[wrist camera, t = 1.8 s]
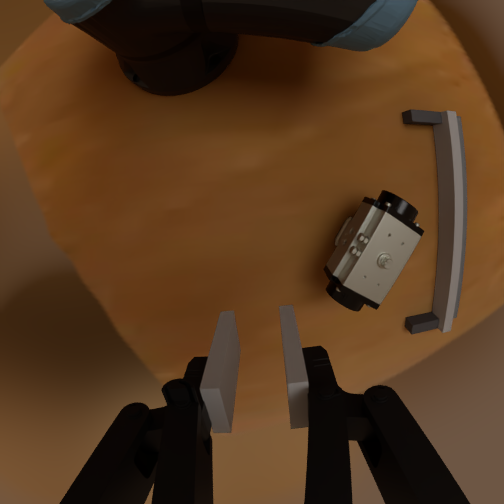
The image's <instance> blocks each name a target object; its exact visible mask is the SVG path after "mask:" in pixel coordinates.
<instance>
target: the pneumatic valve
mask: <svg viewBox="0 0 504 504" xmlns="http://www.w3.org/2000/svg"><path fill="white" fill-rule="evenodd" d="M417 214H418V211H417V210H416V209H415V208H414V207H413V206H412V205H411V204H409V203H408V202H406V201H405V200H403V199H402V198H400V197H398V196H396V195H395V194H393V193H391V192H388V191H385V190H382V192H381V194H380V196H379V197H378V199H377V201H376V199H374V198H368V197H364V199H363V201H362V203H361V205H360V207H359V208H358V210H357V212H356V214H355V216H354V217H353V218H352V217H349V218H347V219H346V220H345V222H344V224H343V226H342V227H341V229H340V231H339V233H338V235H337V236H336V238H335V245H336V246H337V245H338V246H337V247H336V249H335V251H334V252H333V254H332V256H331V257H330V259H329V261H328V262H327V264H326V266H325V267H324V269H323V270H324V272H325V273H326V275H327V277H328V278H329V280H331V281H330V282H329V284H328V285H327V287H326V291H327V293H328V294H329V295H330V296H331V297H332V298H333V299H334V300H335V301H337V302H338V303H340V304H341V305H343V306H344V307H346V308H348V309H350V310H353V311H360V310H361V308H362V307H363V305H364V304H366V305H367V306H368V307H372V308H374V309H376V310H377V309H378V307H379V306H380V304H381V303H382V301H383V300H384V298H385V297H386V295H387V293H388V292H389V290H390V289H391V287H392V286H393V284H394V282H395V281H396V279H397V278H398V276H399V274H400V273H401V271H402V269H403V268H404V266H405V264H406V263H407V261H408V259H409V258H410V256H411V254H412V252H413V251H414V249H415V247H416V245H417V244H418V242H419V240H420V238H421V236H422V234H423V233H424V231H423V230H422V229H421V228H419V226H420V225H419V224H418V223H416V222H415V224H414V223H413V222H414V220H415V218H416V216H417Z"/></svg>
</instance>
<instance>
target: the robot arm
mask: <svg viewBox="0 0 504 504" xmlns="http://www.w3.org/2000/svg"><path fill="white" fill-rule="evenodd" d="M417 1H418V0H44V2H45V4H46V5H47V6H48V7H49V8H50V9H51V10H53V11H54V12H55V13H56V14H58V15H59V16H60V18H61V20H62V21H64V22H65V23H68V24H70V23H71V24H72V25H74V26H76V27H77V28H79V29H80V30H82V31H84V32H85V33H87V34H88V35H90V36H91V37H93V38H94V39H96V40H97V41H99V42H100V43H102V44H103V45H105V46H106V47H108V48H109V49H111V50H112V51H114V52H115V53H116V56H117V59H118V61H119V64H120V67H121V69H122V71H123V73H124V74H125V76H126V77H127V78H128V79H129V80H130V81H131V82H132V83H134V84H135V85H137V86H138V87H140V88H142V89H143V90H145V91H147V92H150V93H153V94H157V95H165V96H172V95H180V94H185V93H189V92H192V91H195V90H197V89H199V88H201V87H203V86H205V85H207V84H209V83H210V82H212V81H213V80H214V79H216V78H217V77H218V76H219V75H220V74H221V73H222V72H223V71H224V70H225V69H226V68H227V66H228V65H229V64H230V62H231V60H232V59H233V57H234V55H235V52H236V49H237V45H238V34H245V35H256V36H266V37H275V38H282V39H289V40H296V41H302V42H307V43H310V44H311V45H313V46H318V47H324V46H332V47H338V48H343V49H348V50H352V51H368V50H371V49H373V48H377V47H380V46H382V45H383V44H385V43H386V42H388V41H389V40H390V39H391V38H392V37H393V36H394V35H395V34H396V33H397V32H398V31H399V30H400V29H401V28H402V26H403V25H404V24H405V22H406V21H407V19H408V18H409V16H410V15H411V13H412V11H413V9H414V7H415V5H416V3H417ZM279 311H280V321H281V332H282V343H283V353H284V362H285V372H286V382H287V392H288V403H289V413H290V424H291V429H295V428H303V427H309V429H308V430H309V431H308V454H307V472H306V488H305V502H304V504H352V487H351V470H350V469H351V468H350V454H349V441H348V440H355V441H357V442H358V444H359V446H360V449H361V451H362V453H363V455H364V457H365V459H366V462H367V464H368V466H369V468H370V470H371V473H372V475H373V477H374V479H375V482H376V484H377V486H378V488H379V491H380V493H381V495H382V497H383V500H384V502H385V504H470V503H469V501H468V500H467V498H466V496H465V495H464V493H463V492H462V490H461V488H460V487H459V485H458V484H457V482H456V481H455V479H454V478H453V476H452V474H451V473H450V471H449V470H448V468H447V467H446V465H445V464H444V462H443V461H442V459H441V458H440V456H439V455H438V453H437V452H436V450H435V449H434V447H433V446H432V444H431V443H430V441H429V440H428V438H427V437H426V435H425V434H424V432H423V431H422V429H421V428H420V426H419V425H418V423H417V422H416V421H415V419H414V418H413V416H412V415H411V413H410V412H409V410H408V409H407V408H406V406H405V405H404V403H403V402H402V401H401V399H400V398H399V396H398V395H397V393H396V392H395V391H394V390H393V389H392V388H390V387H388V386H383V385H377V386H373V387H371V388H368V389H367V390H366V391H365V393H364V394H351V393H347V392H345V391H343V390H342V388H340V387H339V386H338V384H337V382H336V378H335V375H334V372H333V369H332V366H331V363H330V360H329V356H328V353H327V351H326V350H325V349H324V348H323V347H322V346H314V347H307V348H302V347H301V342H300V337H299V332H298V328H297V323H296V318H295V313H294V309H293V305H286V306H279ZM240 351H241V350H240V344H239V338H238V332H237V327H236V321H235V315H234V311H223V312H220V316H219V319H218V323H217V326H216V330H215V334H214V337H213V341H212V345H211V348H210V352H209V356H208V357H194V358H193V359H192V360H191V361H190V362H189V363H188V366H187V369H186V372H185V375H184V377H183V379H174V380H171V381H169V382H167V383H166V384H165V385H164V386H163V388H162V393H163V395H164V398H165V400H166V402H167V406H165V407H161V408H156V409H150V410H149V408H148V406H146V405H145V404H143V403H132V404H129V405H127V406H125V407H124V408H123V409H122V410H121V411H120V413H119V414H118V416H117V417H116V419H115V420H114V422H113V423H112V425H111V426H110V428H109V429H108V431H107V432H106V434H105V435H104V437H103V438H102V440H101V441H100V443H99V444H98V446H97V447H96V449H95V450H94V452H93V453H92V455H91V456H90V458H89V459H88V461H87V462H86V464H85V465H84V467H83V468H82V470H81V471H80V473H79V475H78V476H77V477H76V479H75V481H74V482H73V484H72V485H71V487H70V488H69V490H68V491H67V493H66V494H65V496H64V498H63V499H62V501H61V502H60V504H144V503H145V501H146V499H147V496H148V495H149V492H150V490H151V488H152V486H153V484H154V489H153V496H152V504H213V474H212V473H213V470H212V438H211V435H210V431H211V426H212V429H213V432H214V433H231V429H232V421H233V412H234V403H235V395H236V386H237V377H238V368H239V360H240ZM154 481H155V482H154Z"/></svg>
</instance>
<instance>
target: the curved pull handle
mask: <svg viewBox="0 0 504 504" xmlns="http://www.w3.org/2000/svg"><path fill="white" fill-rule="evenodd" d="M402 115H403V122H404V124H420V125H433V130H434V138H435V148H436V159H437V172H438V194H439V235H438V257H437V271H436V282H435V291H434V300H433V308H432V312H429V313H424V314H420V315H415V316H410V317H406V321H405V327H406V328H407V329H408V331H409V332H410V333H411V334H415V333H420V332H424V331H428V330H432V329H436V328H438V329H439V330H440V331H441V332H442V333H444V332H448V331H451V326H452V320H453V318H456V317H457V312H458V306H459V300H460V294H461V286H462V279H463V270H464V260H465V247H466V229H467V180H466V162H465V150H464V140H463V131H462V124H461V117H460V116H456V112H453V111H444V112H434V111H423V110H408V111H405V112H402Z"/></svg>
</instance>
